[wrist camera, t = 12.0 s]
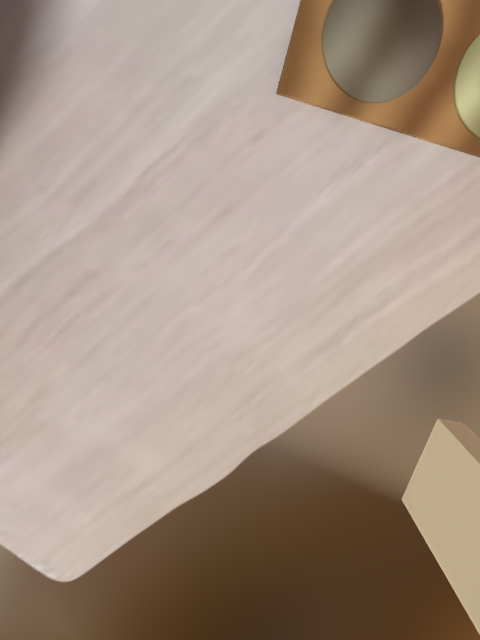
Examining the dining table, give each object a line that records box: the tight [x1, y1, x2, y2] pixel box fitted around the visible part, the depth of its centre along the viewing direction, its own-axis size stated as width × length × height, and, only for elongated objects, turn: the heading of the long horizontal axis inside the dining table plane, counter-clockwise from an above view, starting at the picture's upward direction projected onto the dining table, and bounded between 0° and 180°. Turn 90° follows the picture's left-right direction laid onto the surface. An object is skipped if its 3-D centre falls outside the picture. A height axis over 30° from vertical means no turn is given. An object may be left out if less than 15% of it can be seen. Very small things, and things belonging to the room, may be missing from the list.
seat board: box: [276, 0, 480, 157], centre depth 35 cm, size 26×12×2 cm, turn 75°
